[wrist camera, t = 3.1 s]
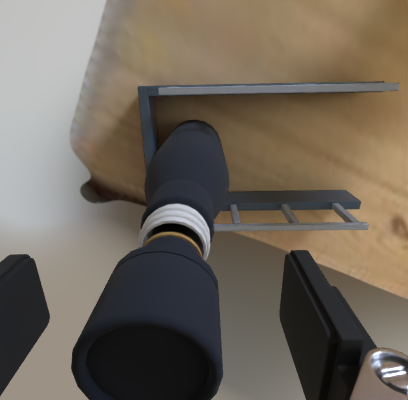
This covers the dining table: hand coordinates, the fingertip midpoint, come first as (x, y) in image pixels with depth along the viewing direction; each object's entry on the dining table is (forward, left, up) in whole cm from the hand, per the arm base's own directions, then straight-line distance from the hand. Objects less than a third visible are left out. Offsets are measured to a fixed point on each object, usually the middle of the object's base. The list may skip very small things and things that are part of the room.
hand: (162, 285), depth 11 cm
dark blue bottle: (0, 0, -27) cm, 27 cm away
